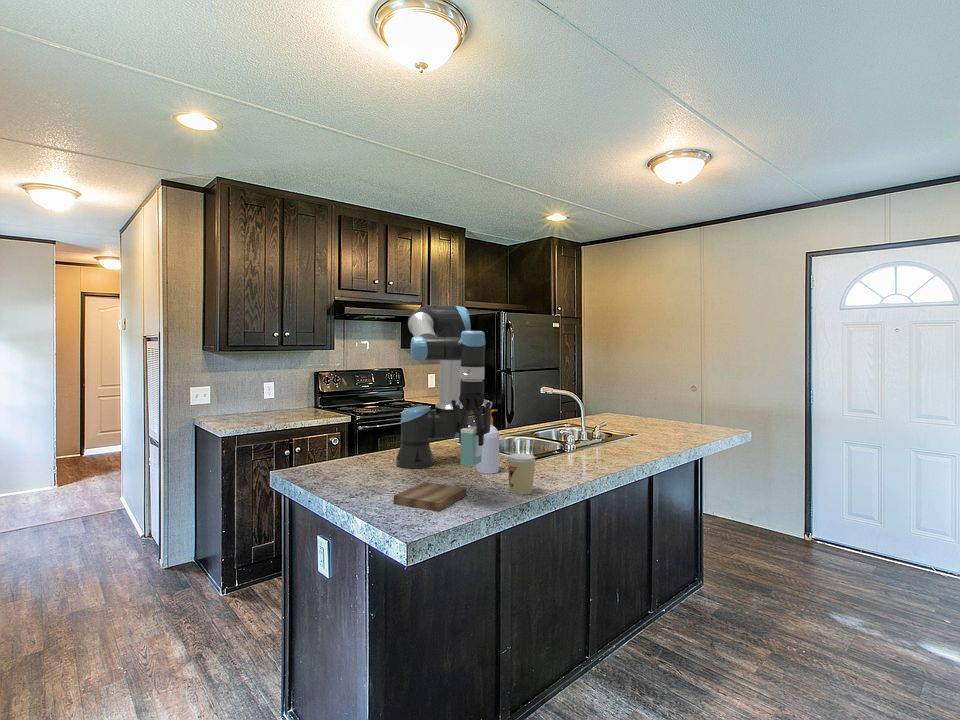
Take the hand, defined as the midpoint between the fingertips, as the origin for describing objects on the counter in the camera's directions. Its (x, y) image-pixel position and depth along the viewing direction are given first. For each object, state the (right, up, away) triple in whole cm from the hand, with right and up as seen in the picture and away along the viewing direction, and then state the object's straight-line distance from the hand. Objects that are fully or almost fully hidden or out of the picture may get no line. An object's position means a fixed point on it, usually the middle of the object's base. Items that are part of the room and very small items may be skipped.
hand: (471, 454), depth 162 cm
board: (-13, -15, +2) cm, 19 cm away
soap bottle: (+6, -14, +40) cm, 42 cm away
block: (0, -3, 0) cm, 3 cm away
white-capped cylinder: (+16, -15, +13) cm, 26 cm away
